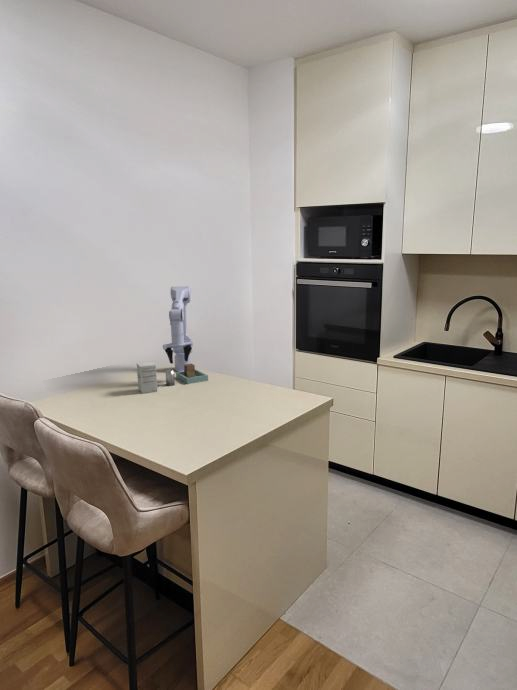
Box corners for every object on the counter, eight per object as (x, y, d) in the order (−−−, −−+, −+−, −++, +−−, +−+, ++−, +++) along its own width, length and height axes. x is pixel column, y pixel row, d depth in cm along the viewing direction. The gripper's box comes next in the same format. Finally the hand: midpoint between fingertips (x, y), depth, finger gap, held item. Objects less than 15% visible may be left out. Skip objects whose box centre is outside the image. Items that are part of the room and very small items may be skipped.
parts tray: (176, 377, 237) (175, 372, 236) (196, 374, 242) (196, 369, 242) (187, 384, 225) (186, 378, 225) (208, 380, 231) (208, 375, 230)
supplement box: (138, 389, 218) (136, 362, 215) (154, 387, 221) (152, 361, 218) (141, 393, 211) (139, 366, 209) (157, 391, 214) (156, 364, 212)
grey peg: (165, 384, 225) (164, 370, 224) (172, 383, 227) (172, 369, 226) (168, 386, 222) (167, 372, 220) (176, 385, 224) (175, 370, 222)
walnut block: (184, 376, 237) (183, 364, 235) (191, 375, 239) (191, 363, 237) (187, 378, 233) (187, 366, 232) (195, 376, 235) (194, 365, 234)
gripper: (166, 337, 218) (167, 365, 221) (194, 333, 226) (196, 361, 228) (160, 335, 224) (162, 363, 227) (188, 331, 232) (190, 359, 234)
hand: (178, 362), depth 228 cm, fingers open, 7 cm apart
